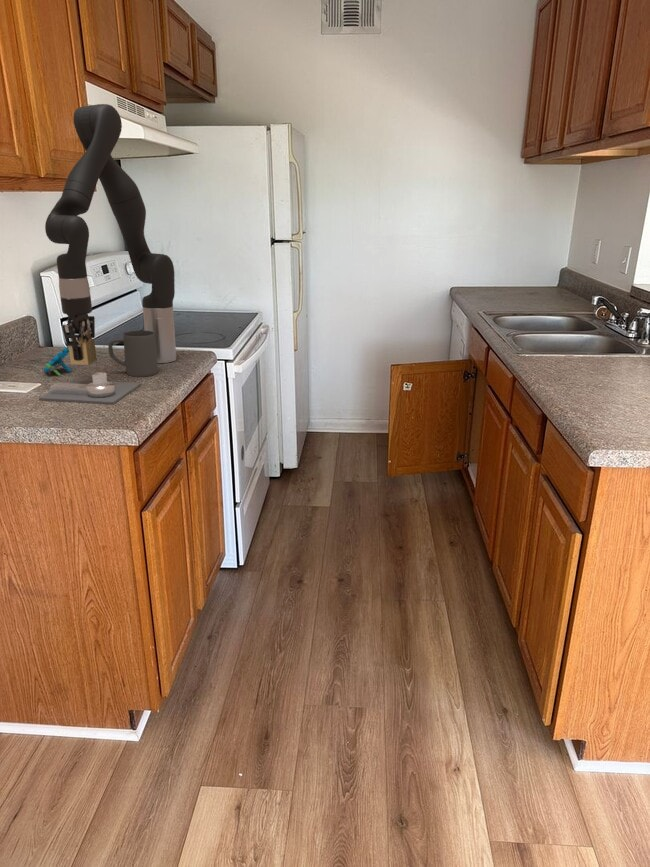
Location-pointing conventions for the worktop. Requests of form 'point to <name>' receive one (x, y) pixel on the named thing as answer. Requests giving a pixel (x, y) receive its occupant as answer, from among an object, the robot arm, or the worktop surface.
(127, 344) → the mug
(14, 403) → the worktop surface
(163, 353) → the robot arm
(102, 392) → the ratchet
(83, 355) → the wooden toy cube
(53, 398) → the mat
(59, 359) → the blue toy piece
